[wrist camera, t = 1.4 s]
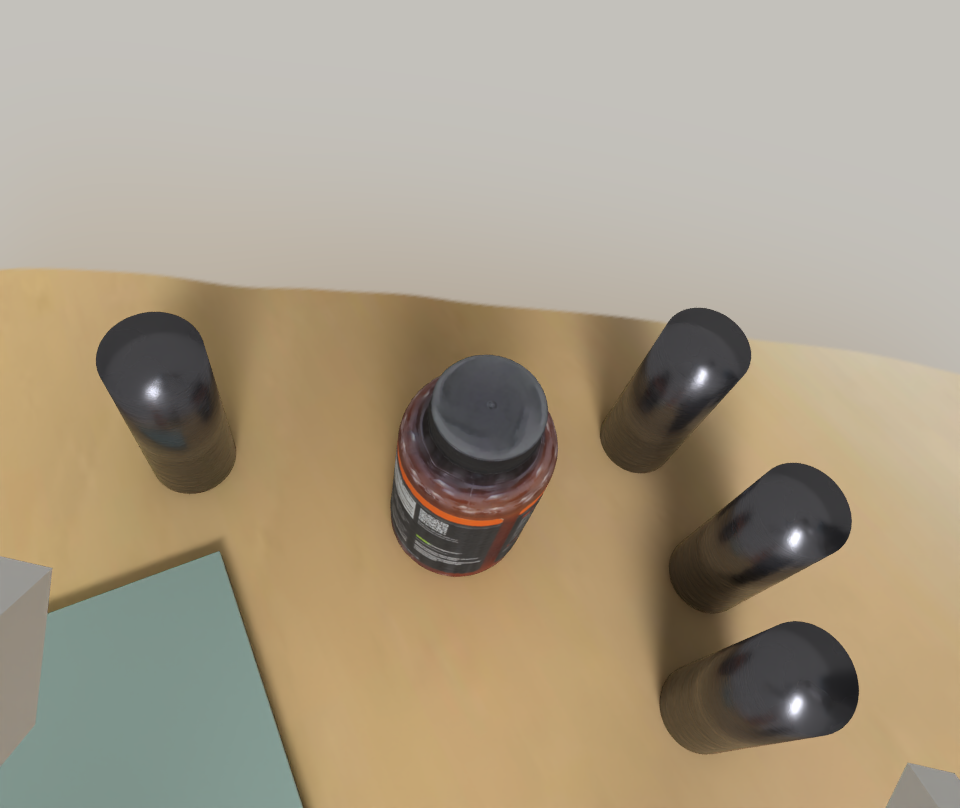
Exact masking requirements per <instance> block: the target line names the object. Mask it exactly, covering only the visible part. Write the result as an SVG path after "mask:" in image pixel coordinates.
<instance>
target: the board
mask: <svg viewBox="0 0 960 808" xmlns="http://www.w3.org/2000/svg"><path fill="white" fill-rule="evenodd" d="M0 808H303V805H302V801H301V798H300V795H299V792H298V789H297V786H296V783H295V780H294V777H293V774H292V771H291V768H290V765H289V761H288V758H287V755H286V752H285V749H284V746H283V743H282V740H281V737H280V734H279V731H278V728H277V725H276V721H275V718H274V715H273V712H272V709H271V706H270V703H269V700H268V697H267V694H266V691H265V688H264V685H263V681H262V678H261V675H260V672H259V669H258V666H257V663H256V660H255V657H254V654H253V651H252V648H251V644H250V641H249V638H248V635H247V632H246V629H245V626H244V623H243V620H242V617H241V614H240V611H239V608H238V604H237V601H236V598H235V595H234V592H233V589H232V586H231V583H230V580H229V577H228V574H227V571H226V568H225V564H224V561H223V558H222V556H221V554H220V552H219V551H218V552H215V553H212V554H210V555H207V556H204V557H201V558H199V559H196V560H193V561H191V562H188V563H185V564H182V565H180V566H177V567H174V568H171V569H169V570H166V571H163V572H160V573H158V574H155V575H152V576H149V577H147V578H144V579H141V580H138V581H136V582H133V583H130V584H128V585H125V586H122V587H119V588H117V589H114V590H111V591H108V592H106V593H103V594H100V595H97V596H95V597H92V598H89V599H86V600H84V601H81V602H78V603H75V604H73V605H70V606H67V607H65V608H62V609H59V610H56V611H54V612H51V613H48V614H47V621H46V630H45V639H44V648H43V658H42V667H41V676H40V685H39V694H38V703H37V713H36V722H35V725H34V726H33V728H32V729H31V730H30V731H29V732H28V734H27V735H26V736H25V737H24V739H23V740H22V741H21V742H20V743H19V745H18V746H17V747H16V748H15V750H14V751H13V752H12V753H11V754H10V756H9V757H8V758H7V759H6V761H5V762H4V763H3V764H2V765H1V767H0Z"/></svg>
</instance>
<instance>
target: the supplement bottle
mask: <svg viewBox="0 0 960 808" xmlns="http://www.w3.org/2000/svg"><path fill="white" fill-rule="evenodd" d="M557 453H558V442H557V435H556V430H555V426H554V423H553V420H552V417H551V415H550V414H549V412H548V406H547V400H546V396H545V394H544V391H543V389H542V387H541V385H540V384H539V383H538V381H537V379H536V378H535V377H534V376H533V375H532V374H531V373H530V372H529V371H528V370H527V369H525V368H524V367H523V366H521V365H520V364H518V363H516V362H514V361H512V360H510V359H507V358H504V357H500V356H494V355H476V356H471V357H467V358H465V359H463V360H460V361H458V362H457V363H455V364H453V365H452V366H450V367H449V368H448V369H446V370H445V371H444V373H443V374H442V375H441V376H439V377H437V378H436V379H433V380H432V381H431V382H430V383H428V384H427V385H425V386H424V387H423V388H422V389H421V390H420V391H418V393H417V394H416V396H414V398H413V399H412V400H411V402H410V404H409V405H408V407H407V409H406V411H405V413H404V415H403V418H402V421H401V425H400V429H399V435H398V442H397V451H396V461H395V470H394V479H393V488H392V497H391V520H392V527H393V530H394V533H395V535H396V538H397V540H398V542H399V544H400V545H401V547H402V548H403V550H404V551H405V553H406V554H408V555H409V556H410V557H411V558H412V559H413V560H414V561H415V562H417V563H418V564H419V565H420V566H422V567H424V568H426V569H427V570H430V571H432V572H435V573H438V574H441V575H447V576H453V577H454V576H455V577H459V576H468V575H473V574H477V573H480V572H482V571H484V570H487V569H489V568H490V567H492V566H494V565H495V564H497V563H498V562H499V561H500V560H501V559H502V558H503V557H504V556H505V555H506V554H507V553H508V551H509V550H510V549H511V548H512V546H513V545H514V543H515V542H516V540H517V538H518V537H519V535H520V533H521V531H522V530H523V528H524V526H525V524H526V523H527V521H528V519H529V517H530V516H531V514H532V512H533V510H534V509H535V507H536V505H537V503H538V502H539V500H540V498H541V497H542V495H543V492H544V491H545V489H546V487H547V485H548V483H549V481H550V479H551V477H552V474H553V472H554V468H555V465H556V461H557Z"/></svg>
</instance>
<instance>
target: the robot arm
mask: <svg viewBox="0 0 960 808" xmlns="http://www.w3.org/2000/svg"><path fill="white" fill-rule="evenodd" d="M51 575H52V568H49V567H45V566H41V565H36V564H32V563H27V562H23V561H19V560H14V559H10V558H5V557H1V556H0V767H1V765H2V764H3V763H4V762H5V761H6V759H7V758H8V757H9V756H10V754H11V753H12V752H13V751H14V750H15V748H16V747H17V746H18V745H19V743H20V742H21V741H22V740H23V739H24V737H25V736H26V735H27V734H28V732H29V731H30V730H31V729H32V728H33V726H34V725H35V722H36V713H37V703H38V694H39V685H40V676H41V667H42V658H43V648H44V639H45V630H46V621H47V612H48V603H49V594H50V584H51ZM886 808H960V780H959V779H958V777H957V776H956V775H955V773H951V772H946V771H942V770H938V769H933V768H929V767H924V766H920V765H916V764H911V763H907V765H906V767H905V769H904V771H903V773H902V775H901V777H900V779H899V781H898V783H897V785H896V788H895V790H894V792H893V794H892V796H891V798H890V800H889V802H888V804H887V806H886Z"/></svg>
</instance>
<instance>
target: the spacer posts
mask: <svg viewBox="0 0 960 808" xmlns="http://www.w3.org/2000/svg"><path fill="white" fill-rule="evenodd" d="M750 361H751V350H750V345H749V342H748V340H747V338H746V336H745V334H744V333H743V331H742V330H741V329H740V328H739V326H738V325H737V324H736V323H735V322H733V321H732V320H731V319H730V318H728V317H727V316H725V315H723V314H721V313H719V312H716V311H714V310H710V309H706V308H690V309H686V310H683V311H681V312H679V313H677V314H676V315H674V316H673V317H672V318H671V319H670V321H669V322H668V323H667V325H666V327H665V328H664V330H663V331H662V333H661V334H660V336H659V337H658V339H657V340H656V342H655V343H654V345H653V346H652V348H651V350H650V351H649V353H648V354H647V356H646V357H645V359H644V360H643V362H642V363H641V365H640V366H639V368H638V369H637V371H636V372H635V374H634V376H633V377H632V379H631V380H630V382H629V383H628V385H627V386H626V388H625V389H624V391H623V392H622V394H621V395H620V397H619V399H618V400H617V402H616V403H615V405H614V406H613V408H612V409H611V411H610V412H609V414H608V415H607V417H606V418H605V420H604V422H603V424H602V427H601V433H600V436H601V443H602V446H603V448H604V451H605V452H606V454H607V455H608V457H609V458H610V459H611V460H612V461H613V462H614V463H615V464H616V465H618V466H619V467H621V468H623V469H625V470H627V471H630V472H635V473H647V472H651V471H654V470H656V469H658V468H659V467H661V466H662V465H663V464H664V463H665V462H666V461H667V460H668V459H669V457H670V456H671V455H672V454H673V453H674V452H675V451H676V450H677V449H678V448H679V446H680V445H681V444H682V443H683V442H684V441H685V440H686V439H687V438H688V436H689V435H690V434H691V433H692V432H693V431H694V430H695V429H696V428H697V426H698V425H699V424H700V423H701V422H702V421H703V420H704V419H705V418H706V417H707V415H708V414H709V413H710V412H711V411H712V410H713V409H714V408H715V407H716V405H717V404H718V403H719V402H720V401H721V400H722V399H723V398H724V397H725V396H726V394H727V393H728V392H729V391H730V390H731V389H732V388H733V387H734V386H735V384H736V383H737V382H738V381H739V380H740V379H741V378H742V377H743V376H744V374H745V373H746V372H747V370H748V368H749V365H750ZM96 366H97V371H98V373H99V376H100V378H101V380H102V381H103V383H104V385H105V387H106V388H107V390H108V392H109V394H110V395H111V397H112V399H113V401H114V402H115V404H116V406H117V408H118V410H119V411H120V413H121V415H122V417H123V418H124V420H125V422H126V424H127V425H128V427H129V429H130V431H131V432H132V434H133V436H134V438H135V440H136V441H137V443H138V445H139V447H140V448H141V450H142V452H143V454H144V455H145V457H146V459H147V461H148V462H149V464H150V466H151V468H152V470H153V471H154V473H155V475H156V477H157V478H158V479H159V481H160V482H161V483H162V484H163V485H165V486H166V487H168V488H169V489H171V490H173V491H176V492H180V493H187V494H192V493H200V492H204V491H207V490H209V489H212V488H213V487H215V486H217V485H218V484H220V483H221V482H222V481H223V480H224V479H225V478H226V477H227V476H228V475H229V473H230V472H231V470H232V468H233V465H234V462H235V457H236V450H235V445H234V441H233V438H232V435H231V431H230V428H229V425H228V421H227V418H226V415H225V412H224V408H223V405H222V402H221V399H220V395H219V392H218V389H217V385H216V382H215V379H214V376H213V372H212V369H211V366H210V363H209V359H208V356H207V353H206V350H205V346H204V343H203V340H202V338H201V335H200V334H199V332H198V331H197V330H196V328H195V327H194V326H193V325H192V324H190V323H189V322H188V321H186V320H185V319H183V318H181V317H179V316H176V315H173V314H169V313H164V312H147V313H141V314H137V315H134V316H131V317H129V318H126V319H124V320H122V321H121V322H119V323H118V324H116V325H115V326H114V327H112V328H111V329H110V330H109V331H108V332H107V334H106V335H105V336H104V337H103V339H102V341H101V343H100V345H99V347H98V350H97V355H96ZM851 523H852V520H851V512H850V508H849V504H848V502H847V500H846V497H845V496H844V494H843V492H842V491H841V489H840V488H839V487H838V485H837V484H836V483H835V482H834V481H833V480H832V479H831V478H830V477H828V476H827V475H826V474H824V473H823V472H821V471H820V470H818V469H816V468H814V467H811V466H808V465H805V464H801V463H786V464H781V465H778V466H776V467H774V468H772V469H771V470H770V471H768V472H767V473H766V474H765V475H763V476H762V477H761V478H760V479H759V480H757V481H756V482H755V483H754V484H752V485H751V486H750V487H749V488H747V489H746V490H745V491H744V492H743V493H741V494H740V495H739V496H738V497H736V498H735V499H734V500H733V501H731V502H730V503H729V504H728V505H727V506H725V507H724V508H723V509H722V510H720V511H719V512H718V513H717V514H715V515H714V516H713V517H712V518H711V519H709V520H708V521H707V522H706V523H704V524H703V525H702V526H701V527H699V528H698V529H697V530H696V531H695V532H693V533H692V534H691V535H690V536H688V537H687V538H686V539H685V540H683V541H682V542H681V543H680V544H679V545H678V546H677V547H676V548H675V550H674V551H673V553H672V556H671V559H670V564H669V572H670V578H671V581H672V584H673V586H674V588H675V590H676V592H677V593H678V595H679V596H680V597H681V598H682V599H683V600H684V601H685V602H686V603H687V604H688V605H690V606H691V607H693V608H695V609H697V610H699V611H702V612H707V613H719V612H723V611H726V610H728V609H730V608H732V607H734V606H736V605H738V604H739V603H741V602H743V601H745V600H747V599H749V598H751V597H752V596H754V595H756V594H758V593H760V592H762V591H764V590H766V589H767V588H769V587H771V586H773V585H775V584H777V583H779V582H780V581H782V580H784V579H786V578H788V577H790V576H792V575H793V574H795V573H797V572H799V571H801V570H803V569H805V568H807V567H808V566H810V565H812V564H814V563H816V562H818V561H820V560H821V559H823V558H825V557H827V556H829V555H831V554H833V553H834V552H836V551H838V550H839V549H840V548H841V547H842V546H843V545H844V544H845V542H846V541H847V539H848V537H849V534H850V531H851ZM858 696H859V686H858V679H857V674H856V671H855V668H854V665H853V663H852V661H851V659H850V657H849V655H848V654H847V652H846V651H845V649H844V648H843V647H842V645H841V644H840V643H839V642H838V641H837V640H836V639H835V638H834V637H833V636H832V635H830V634H829V633H828V632H826V631H825V630H823V629H821V628H819V627H817V626H815V625H812V624H809V623H805V622H797V621H793V622H786V623H782V624H779V625H777V626H775V627H772V628H770V629H768V630H766V631H763V632H761V633H759V634H756V635H754V636H752V637H750V638H747V639H745V640H743V641H740V642H738V643H736V644H734V645H731V646H729V647H727V648H724V649H722V650H720V651H718V652H715V653H713V654H711V655H708V656H706V657H704V658H702V659H699V660H697V661H695V662H693V663H690V664H688V665H686V666H683V667H681V668H679V669H677V670H676V671H674V672H673V673H672V674H671V675H670V676H669V677H668V678H667V680H666V682H665V683H664V686H663V688H662V691H661V696H660V710H661V716H662V719H663V722H664V724H665V726H666V728H667V730H668V732H669V733H670V735H671V736H672V737H673V738H674V739H675V740H676V741H677V742H678V743H679V744H680V745H681V746H683V747H684V748H686V749H688V750H690V751H692V752H695V753H699V754H714V753H721V752H727V751H733V750H739V749H745V748H751V747H757V746H763V745H769V744H776V743H782V742H788V741H794V740H800V739H806V738H812V737H818V736H824V735H829V734H832V733H834V732H836V731H838V730H840V729H841V728H843V727H844V726H845V725H846V724H847V723H848V722H849V720H850V719H851V718H852V716H853V714H854V712H855V709H856V707H857V703H858Z"/></svg>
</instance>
